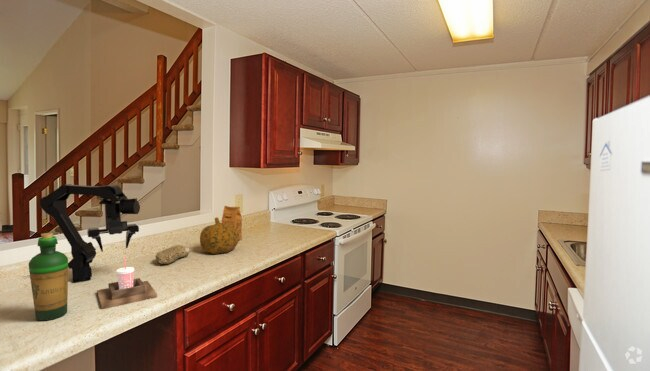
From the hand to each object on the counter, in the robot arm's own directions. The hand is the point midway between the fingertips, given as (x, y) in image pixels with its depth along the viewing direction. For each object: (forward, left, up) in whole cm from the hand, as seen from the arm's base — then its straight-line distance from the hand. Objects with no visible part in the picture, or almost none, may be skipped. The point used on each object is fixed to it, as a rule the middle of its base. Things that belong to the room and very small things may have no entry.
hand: (114, 249), depth 154 cm
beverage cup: (+1, -23, -12) cm, 26 cm away
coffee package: (+69, +39, -13) cm, 80 cm away
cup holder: (+1, -23, -13) cm, 26 cm away
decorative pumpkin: (+53, +17, -13) cm, 57 cm away
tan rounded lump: (+27, +15, -13) cm, 33 cm away
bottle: (-22, -28, -13) cm, 38 cm away
